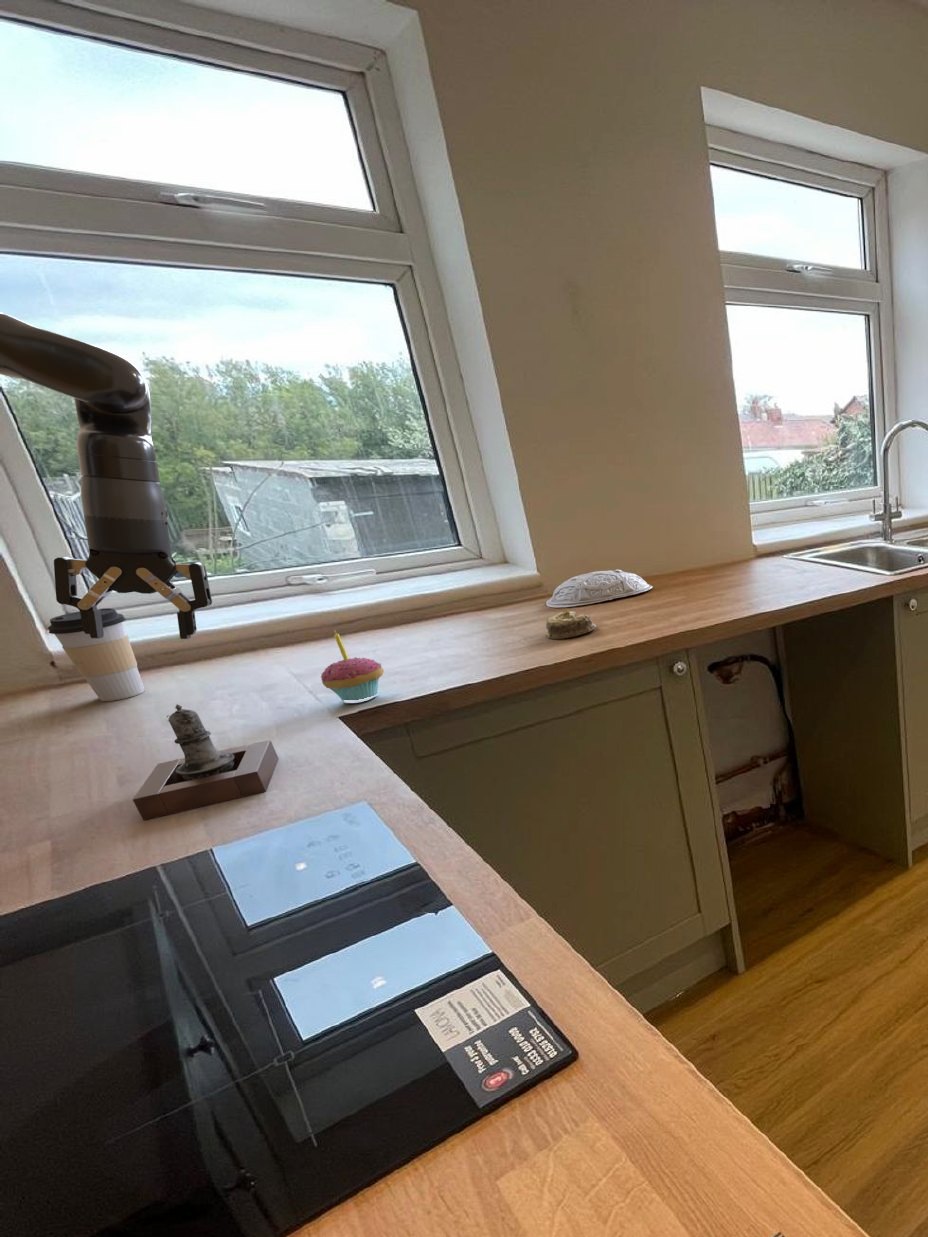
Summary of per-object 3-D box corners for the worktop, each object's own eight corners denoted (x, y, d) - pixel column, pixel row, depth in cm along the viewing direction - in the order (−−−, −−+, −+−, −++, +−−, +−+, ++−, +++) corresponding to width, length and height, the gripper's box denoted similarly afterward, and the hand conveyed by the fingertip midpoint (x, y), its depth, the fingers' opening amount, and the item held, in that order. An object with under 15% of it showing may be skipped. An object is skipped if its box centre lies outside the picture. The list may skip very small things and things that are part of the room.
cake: (565, 644, 156) (557, 619, 154) (537, 638, 161) (528, 614, 159) (607, 627, 163) (599, 603, 161) (578, 622, 168) (570, 599, 166)
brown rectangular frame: (143, 820, 95) (131, 799, 94) (167, 783, 104) (157, 763, 103) (266, 791, 101) (256, 771, 99) (278, 758, 110) (270, 739, 109)
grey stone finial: (243, 772, 106) (206, 692, 102) (247, 785, 102) (208, 703, 98) (186, 787, 103) (145, 705, 98) (188, 802, 99) (145, 717, 94)
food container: (540, 596, 189) (535, 569, 186) (644, 583, 203) (641, 559, 200) (552, 615, 178) (547, 588, 175) (661, 601, 191) (659, 575, 188)
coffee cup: (71, 704, 134) (27, 622, 128) (131, 684, 143) (92, 606, 137) (114, 706, 133) (71, 622, 127) (173, 685, 141) (135, 607, 135)
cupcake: (326, 700, 131) (299, 633, 126) (384, 686, 136) (361, 621, 131) (337, 713, 125) (310, 643, 120) (397, 697, 131) (373, 629, 126)
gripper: (33, 509, 94) (54, 641, 97) (192, 520, 101) (207, 642, 104) (58, 510, 100) (77, 634, 103) (207, 519, 107) (220, 635, 111)
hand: (142, 638), depth 104 cm, fingers open, 8 cm apart
